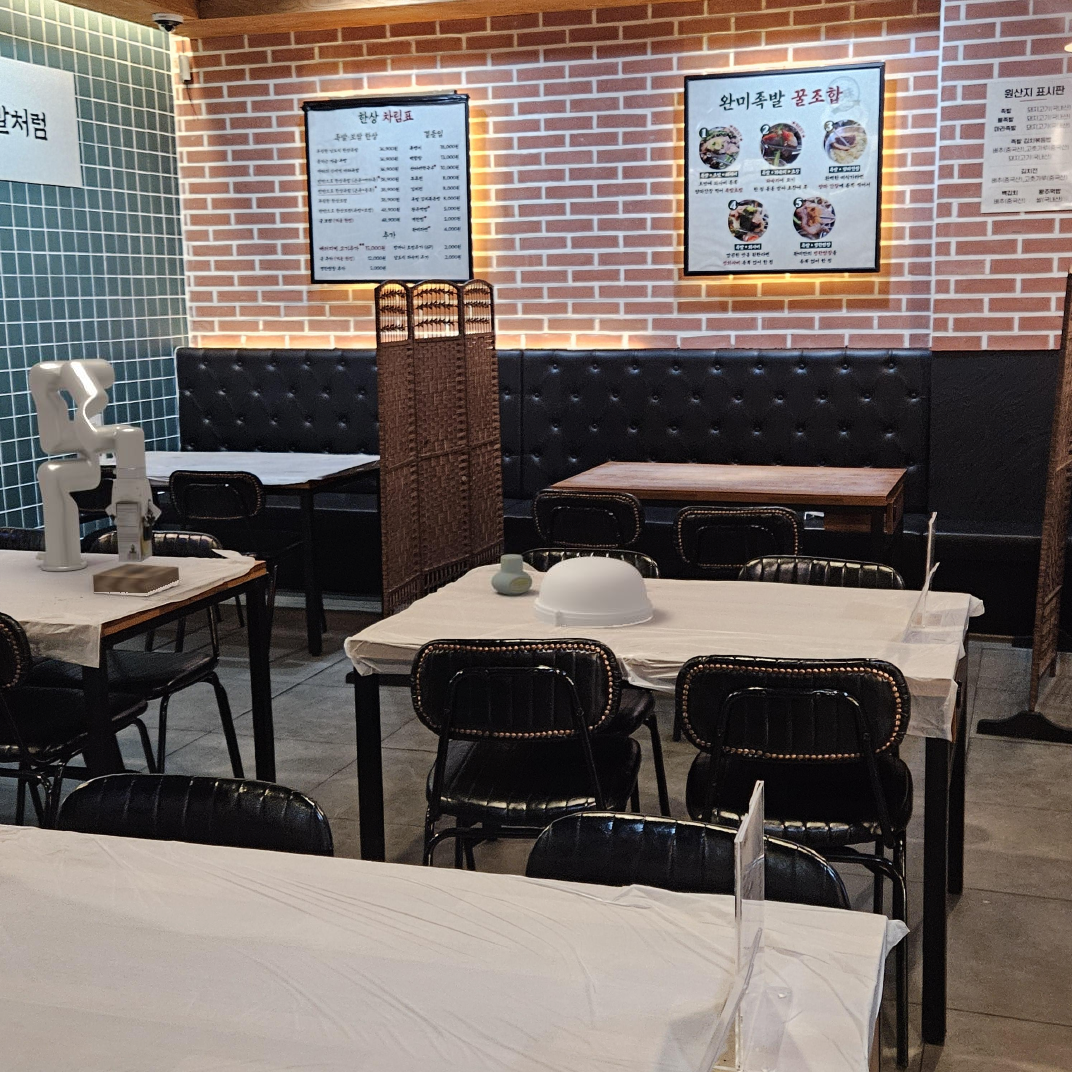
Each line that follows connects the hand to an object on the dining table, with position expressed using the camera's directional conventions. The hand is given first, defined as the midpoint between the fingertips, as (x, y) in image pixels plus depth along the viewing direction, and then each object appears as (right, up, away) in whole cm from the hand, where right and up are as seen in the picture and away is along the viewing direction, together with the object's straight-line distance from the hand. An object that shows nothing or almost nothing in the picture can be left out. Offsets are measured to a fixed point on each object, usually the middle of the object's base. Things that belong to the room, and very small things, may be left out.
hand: (134, 539), depth 354 cm
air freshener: (+101, -15, -1) cm, 102 cm away
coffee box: (0, -6, +1) cm, 6 cm away
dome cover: (+122, -19, -25) cm, 126 cm away
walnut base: (0, -13, +2) cm, 14 cm away
